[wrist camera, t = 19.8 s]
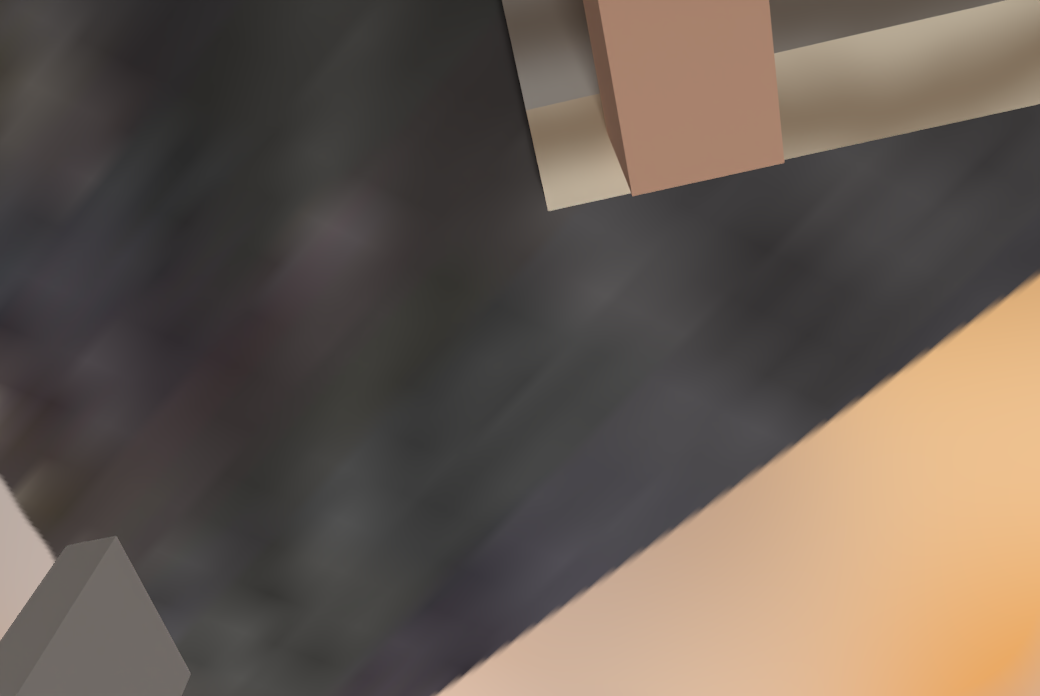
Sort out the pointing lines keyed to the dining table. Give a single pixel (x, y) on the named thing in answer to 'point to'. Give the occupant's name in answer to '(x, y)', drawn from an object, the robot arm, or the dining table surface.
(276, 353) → the dining table surface
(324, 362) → the dining table surface
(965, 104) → the board
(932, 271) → the dining table surface
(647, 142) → the block
